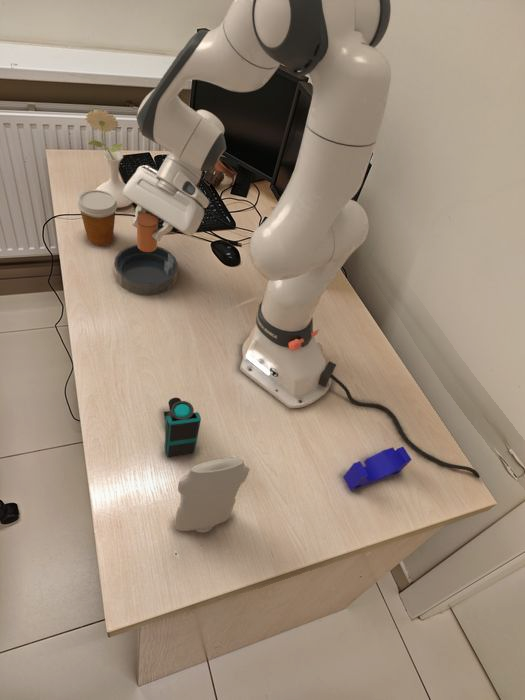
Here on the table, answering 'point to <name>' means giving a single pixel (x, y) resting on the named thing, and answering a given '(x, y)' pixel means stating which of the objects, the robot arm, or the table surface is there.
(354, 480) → the blue toy truck
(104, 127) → the flower in vase
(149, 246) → the copper tin
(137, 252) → the bowl
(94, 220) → the disposable coffee cup
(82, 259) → the table surface
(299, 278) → the robot arm
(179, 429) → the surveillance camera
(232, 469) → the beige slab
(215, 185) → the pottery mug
